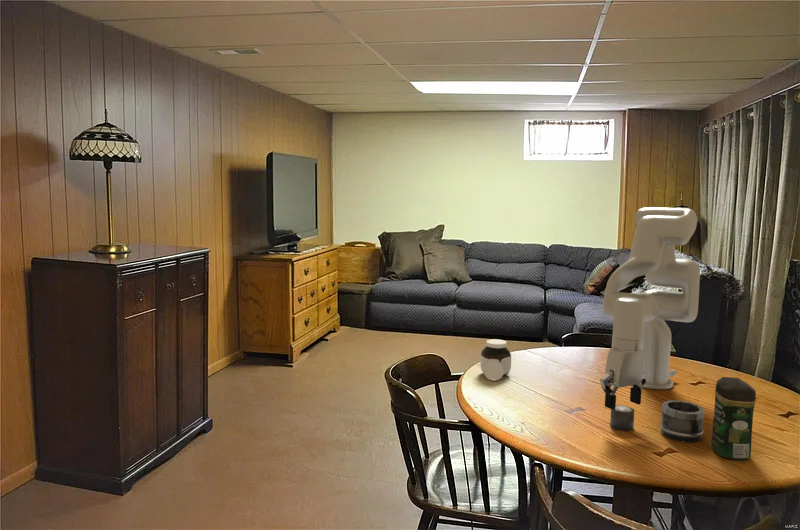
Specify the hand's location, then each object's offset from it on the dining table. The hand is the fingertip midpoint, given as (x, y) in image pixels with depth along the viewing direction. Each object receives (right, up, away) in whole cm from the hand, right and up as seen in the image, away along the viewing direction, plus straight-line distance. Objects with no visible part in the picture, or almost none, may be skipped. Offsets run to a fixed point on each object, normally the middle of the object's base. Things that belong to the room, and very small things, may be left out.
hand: (622, 405), depth 166 cm
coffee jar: (+21, -9, -14) cm, 27 cm away
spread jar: (-28, 0, +44) cm, 52 cm away
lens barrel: (+14, -7, -4) cm, 16 cm away
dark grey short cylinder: (0, -6, +1) cm, 6 cm away
